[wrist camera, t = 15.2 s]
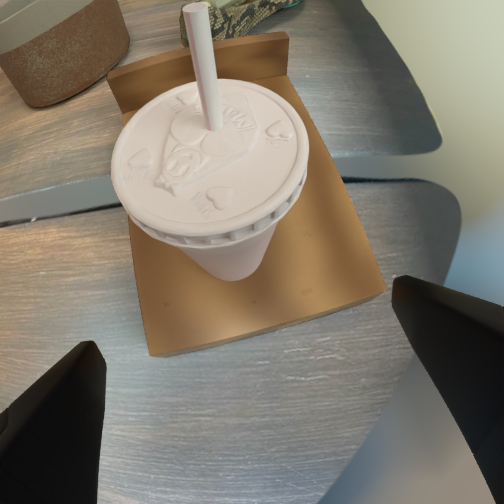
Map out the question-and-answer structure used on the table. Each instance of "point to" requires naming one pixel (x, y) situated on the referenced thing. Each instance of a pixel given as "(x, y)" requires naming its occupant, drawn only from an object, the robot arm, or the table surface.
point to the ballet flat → (235, 16)
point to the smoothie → (211, 163)
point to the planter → (59, 46)
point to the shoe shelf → (282, 241)
